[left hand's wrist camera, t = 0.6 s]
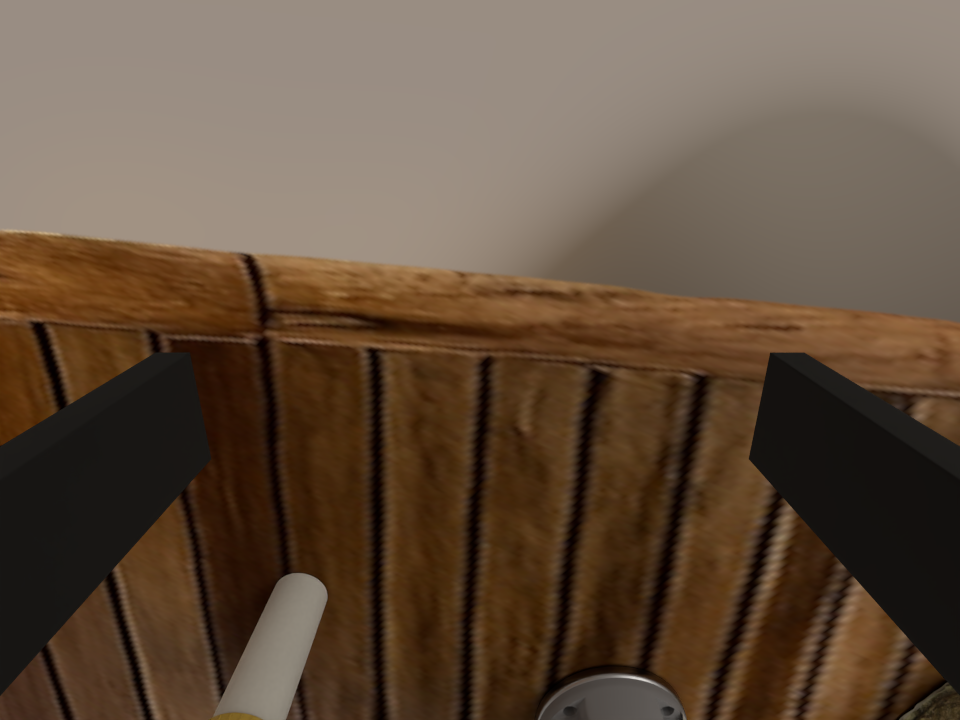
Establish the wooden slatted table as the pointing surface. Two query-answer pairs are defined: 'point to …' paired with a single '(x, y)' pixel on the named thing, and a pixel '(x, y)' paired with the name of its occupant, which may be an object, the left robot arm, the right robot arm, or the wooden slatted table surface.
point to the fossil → (937, 706)
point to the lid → (235, 717)
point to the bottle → (277, 650)
